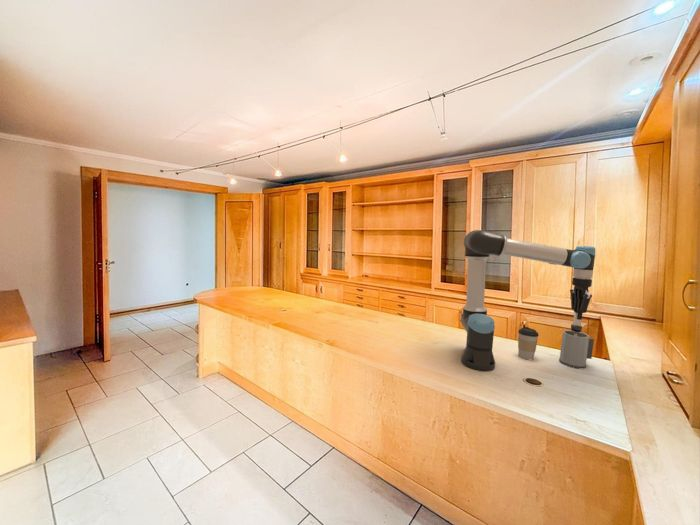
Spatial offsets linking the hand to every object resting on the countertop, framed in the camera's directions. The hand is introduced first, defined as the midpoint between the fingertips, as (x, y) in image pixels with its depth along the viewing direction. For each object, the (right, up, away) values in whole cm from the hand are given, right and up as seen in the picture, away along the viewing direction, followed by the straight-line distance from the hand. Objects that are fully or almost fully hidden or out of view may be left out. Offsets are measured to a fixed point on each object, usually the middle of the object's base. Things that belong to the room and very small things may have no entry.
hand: (576, 325), depth 146 cm
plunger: (-1, -15, +2) cm, 15 cm away
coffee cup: (-20, -19, +9) cm, 29 cm away
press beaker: (+1, -20, +2) cm, 20 cm away
